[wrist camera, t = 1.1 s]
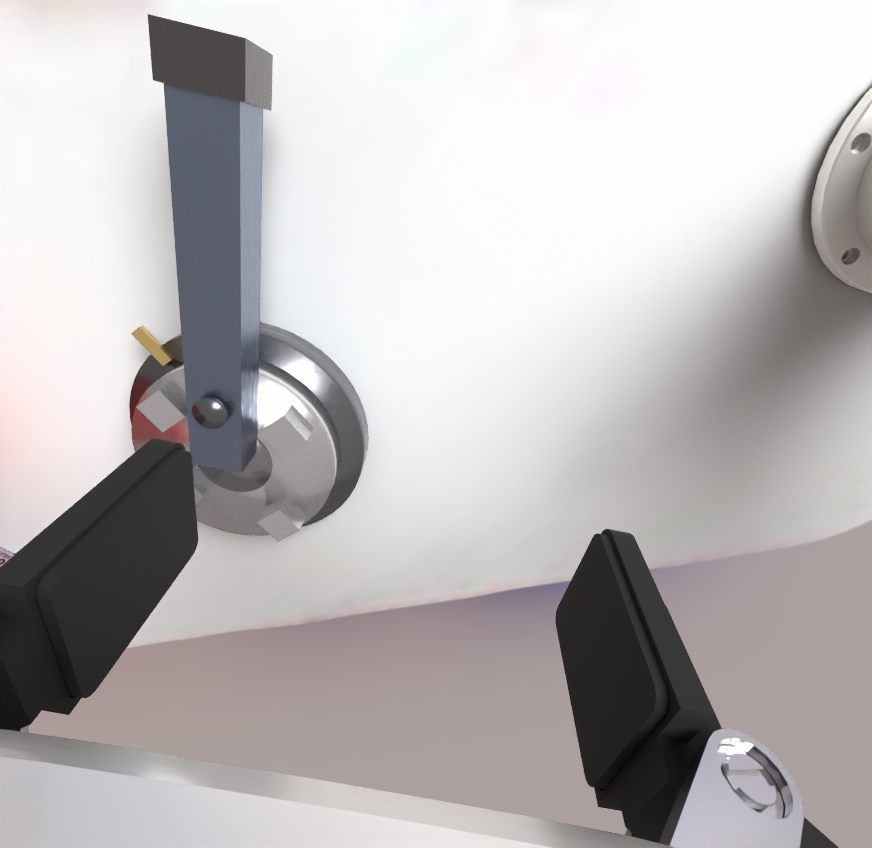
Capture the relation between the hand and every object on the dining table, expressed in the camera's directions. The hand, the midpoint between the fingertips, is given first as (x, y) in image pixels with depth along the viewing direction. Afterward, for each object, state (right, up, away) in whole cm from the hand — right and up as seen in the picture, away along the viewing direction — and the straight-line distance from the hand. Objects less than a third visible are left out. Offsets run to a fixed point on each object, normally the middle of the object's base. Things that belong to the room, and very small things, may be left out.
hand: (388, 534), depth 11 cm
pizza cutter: (-10, +8, +17) cm, 21 cm away
